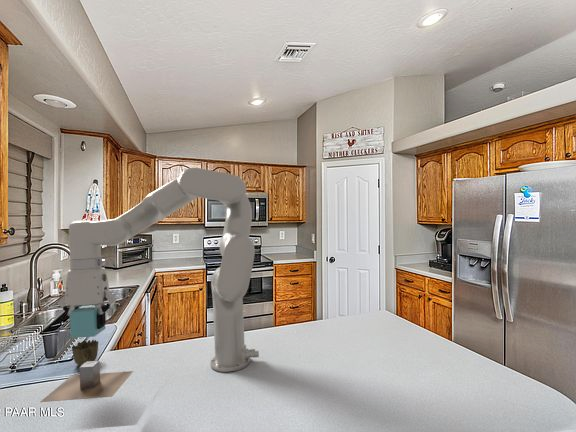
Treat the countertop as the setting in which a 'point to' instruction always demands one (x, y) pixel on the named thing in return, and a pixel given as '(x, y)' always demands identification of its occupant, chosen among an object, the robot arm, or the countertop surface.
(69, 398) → the walnut board
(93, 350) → the olive patterned hollow container
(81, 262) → the robot arm
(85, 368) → the metal post
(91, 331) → the aqua foam cube
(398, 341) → the countertop surface
